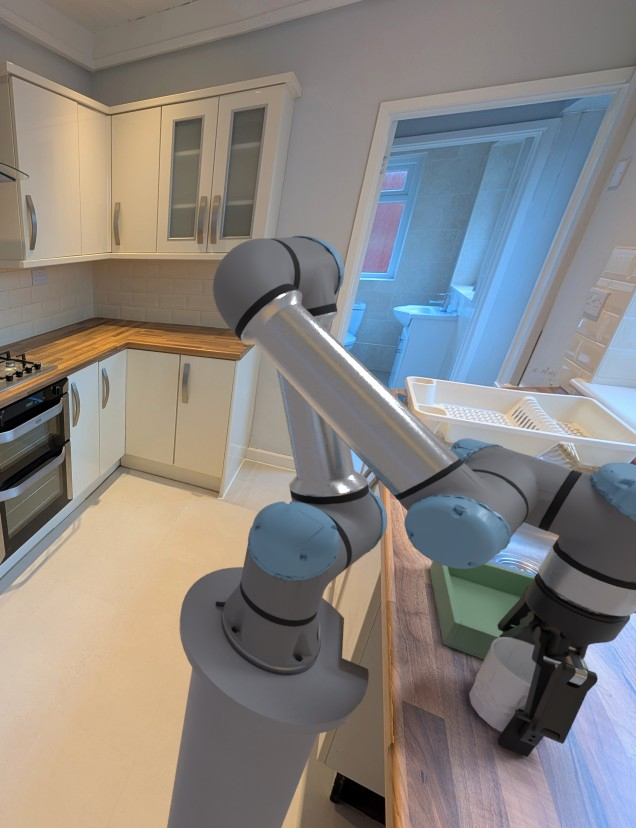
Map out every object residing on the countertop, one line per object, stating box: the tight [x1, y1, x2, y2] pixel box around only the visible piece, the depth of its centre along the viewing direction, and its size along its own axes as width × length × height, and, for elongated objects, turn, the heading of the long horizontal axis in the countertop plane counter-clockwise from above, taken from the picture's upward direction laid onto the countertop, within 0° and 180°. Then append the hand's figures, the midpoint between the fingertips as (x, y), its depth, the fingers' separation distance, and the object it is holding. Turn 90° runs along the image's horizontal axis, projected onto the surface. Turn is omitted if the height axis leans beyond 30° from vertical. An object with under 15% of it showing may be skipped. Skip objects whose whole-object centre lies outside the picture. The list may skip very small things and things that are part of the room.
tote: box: [428, 561, 589, 670], centre depth 70 cm, size 15×19×5 cm
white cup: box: [468, 637, 561, 733], centre depth 56 cm, size 8×8×10 cm
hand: (502, 712), depth 58 cm, fingers open, 9 cm apart
